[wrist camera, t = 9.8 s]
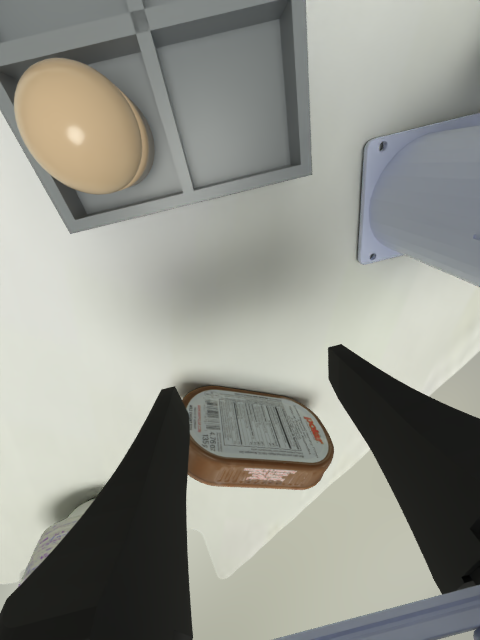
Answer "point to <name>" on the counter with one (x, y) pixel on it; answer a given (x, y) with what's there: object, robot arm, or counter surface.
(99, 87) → the egg
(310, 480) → the tin
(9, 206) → the counter surface
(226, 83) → the grey compartment tray
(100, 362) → the counter surface
